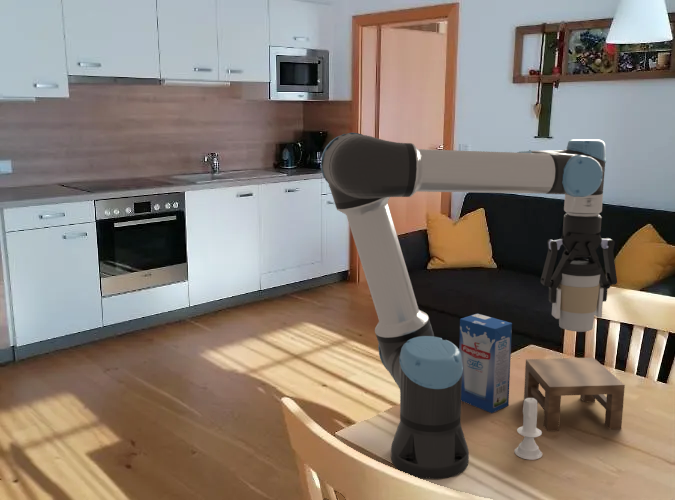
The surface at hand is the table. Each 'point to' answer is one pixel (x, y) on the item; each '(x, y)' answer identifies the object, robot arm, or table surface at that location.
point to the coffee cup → (579, 295)
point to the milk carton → (485, 361)
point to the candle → (529, 432)
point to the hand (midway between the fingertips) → (576, 316)
